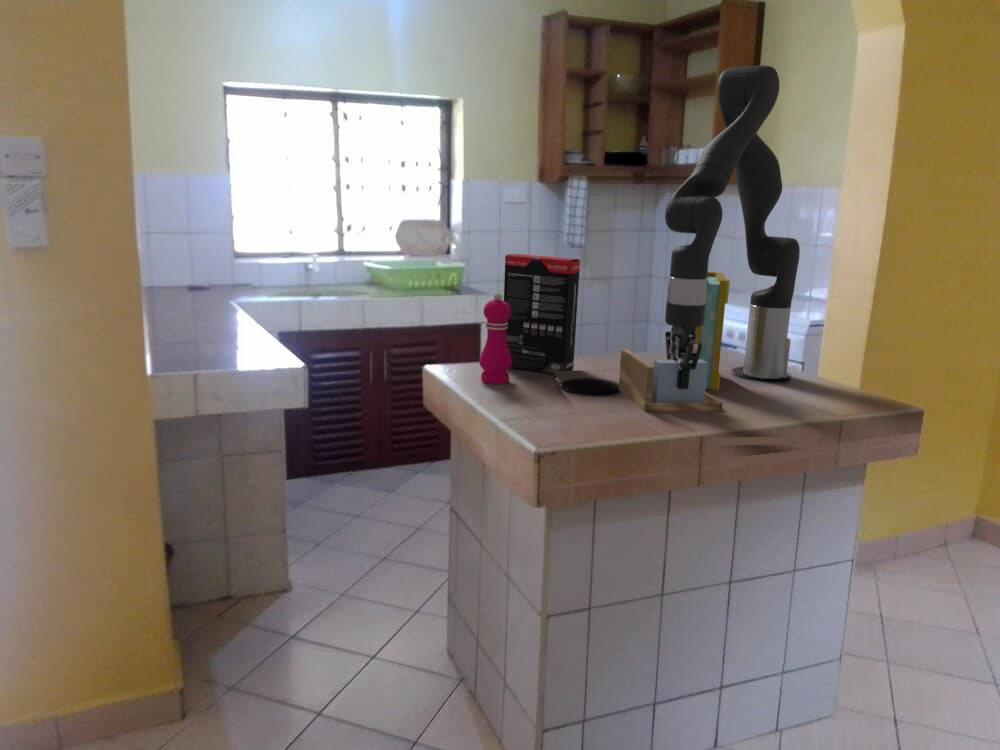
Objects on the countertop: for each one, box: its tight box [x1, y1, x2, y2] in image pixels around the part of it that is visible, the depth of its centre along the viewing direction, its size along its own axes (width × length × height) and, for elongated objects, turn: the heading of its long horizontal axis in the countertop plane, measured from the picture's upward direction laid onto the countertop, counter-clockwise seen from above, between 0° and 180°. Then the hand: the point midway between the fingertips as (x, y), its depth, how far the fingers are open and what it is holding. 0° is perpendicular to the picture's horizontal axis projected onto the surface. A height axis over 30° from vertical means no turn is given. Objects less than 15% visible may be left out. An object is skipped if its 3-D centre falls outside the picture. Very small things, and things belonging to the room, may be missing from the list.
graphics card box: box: [503, 253, 581, 375], centre depth 191 cm, size 17×7×27 cm, turn 65°
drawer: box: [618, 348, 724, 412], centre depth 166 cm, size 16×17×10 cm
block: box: [651, 359, 708, 403], centre depth 161 cm, size 10×3×9 cm, turn 99°
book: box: [695, 271, 731, 391], centre depth 182 cm, size 17×7×25 cm, turn 168°
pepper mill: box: [479, 292, 512, 385], centre depth 180 cm, size 7×7×20 cm
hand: (678, 385), depth 161 cm, fingers closed on block, 3 cm apart
